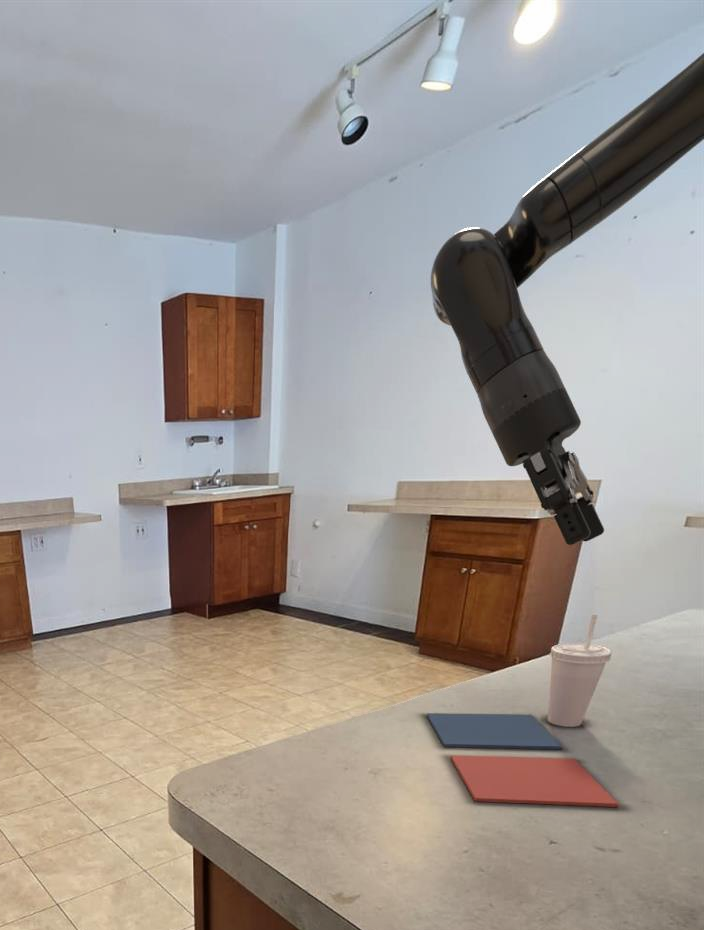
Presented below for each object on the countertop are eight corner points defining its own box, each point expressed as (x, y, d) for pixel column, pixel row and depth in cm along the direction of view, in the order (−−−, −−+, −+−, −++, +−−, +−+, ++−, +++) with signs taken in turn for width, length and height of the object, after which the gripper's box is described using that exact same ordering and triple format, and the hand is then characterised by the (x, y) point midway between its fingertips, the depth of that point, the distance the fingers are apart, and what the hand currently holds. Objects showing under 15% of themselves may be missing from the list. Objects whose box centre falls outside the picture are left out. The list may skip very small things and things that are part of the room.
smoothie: (599, 732, 80) (629, 620, 74) (540, 728, 82) (564, 620, 76) (586, 714, 85) (612, 609, 79) (531, 711, 87) (553, 609, 82)
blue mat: (530, 717, 86) (531, 714, 86) (561, 749, 76) (562, 746, 76) (426, 715, 89) (427, 713, 88) (444, 746, 79) (444, 743, 79)
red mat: (573, 761, 73) (574, 758, 73) (617, 807, 63) (618, 803, 63) (450, 758, 76) (451, 755, 76) (474, 801, 66) (475, 798, 66)
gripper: (549, 377, 64) (617, 522, 64) (576, 392, 74) (636, 518, 74) (473, 428, 70) (536, 561, 69) (508, 436, 79) (563, 553, 79)
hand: (587, 539), depth 72 cm, fingers open, 8 cm apart
